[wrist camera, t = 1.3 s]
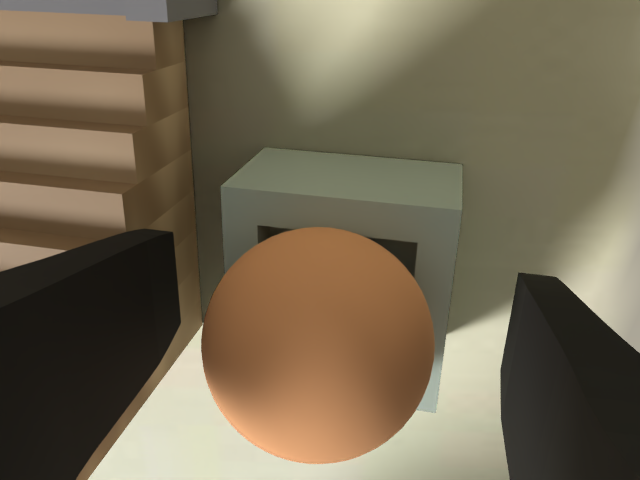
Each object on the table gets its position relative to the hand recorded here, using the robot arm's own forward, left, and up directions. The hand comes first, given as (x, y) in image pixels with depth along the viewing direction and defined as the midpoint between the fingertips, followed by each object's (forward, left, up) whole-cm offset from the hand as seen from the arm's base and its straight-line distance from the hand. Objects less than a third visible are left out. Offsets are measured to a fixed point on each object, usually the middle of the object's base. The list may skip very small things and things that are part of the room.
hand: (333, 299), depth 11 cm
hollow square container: (0, 0, -3) cm, 3 cm away
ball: (0, 0, +1) cm, 1 cm away
